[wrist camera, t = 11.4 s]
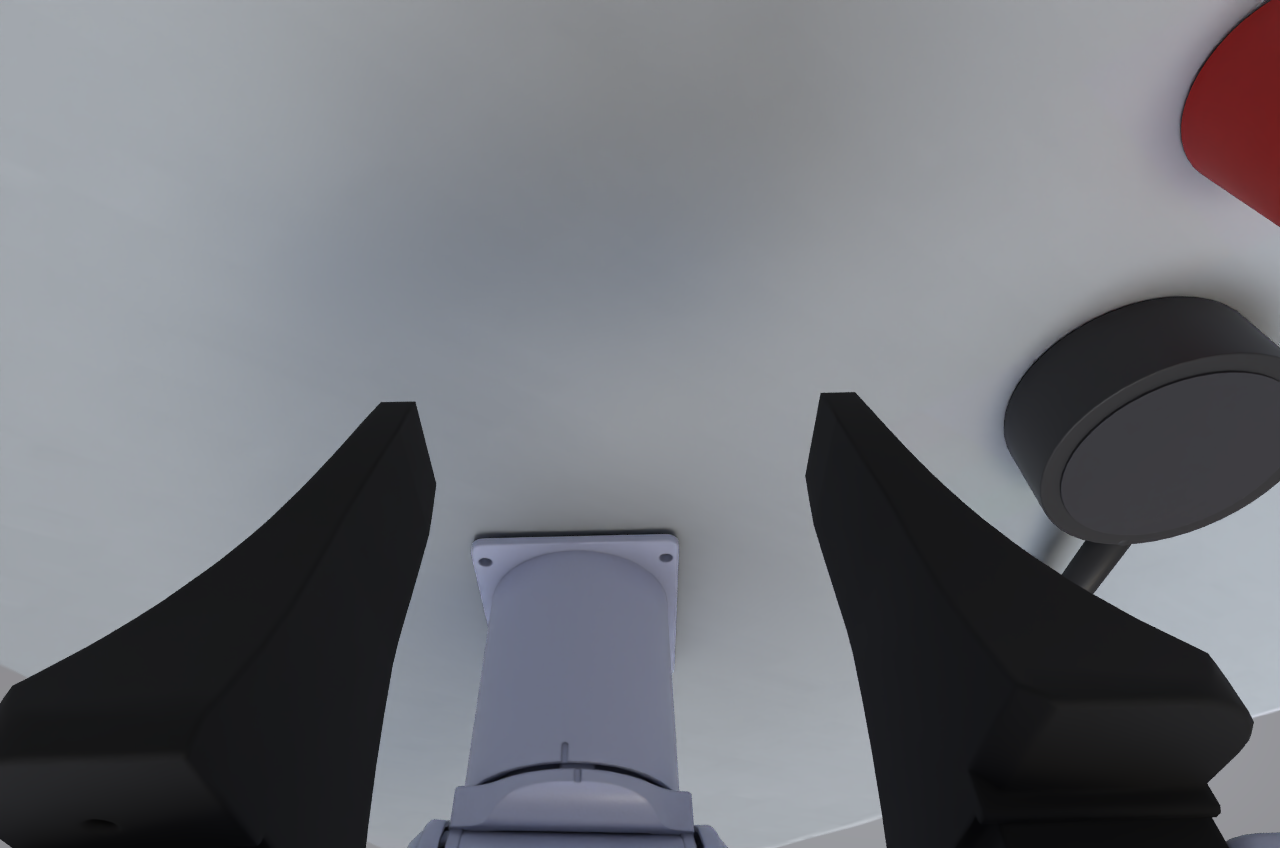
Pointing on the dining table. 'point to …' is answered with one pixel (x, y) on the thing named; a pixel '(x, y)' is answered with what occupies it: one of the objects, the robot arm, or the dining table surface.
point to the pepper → (1240, 114)
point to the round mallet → (1147, 426)
